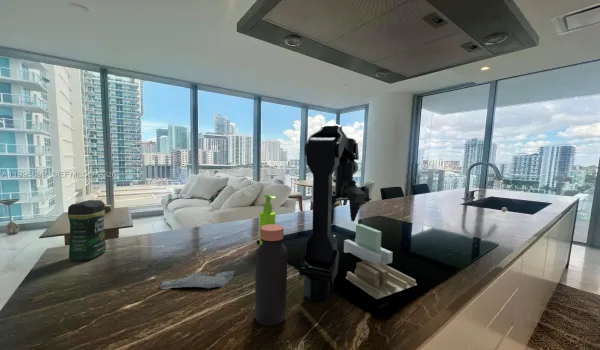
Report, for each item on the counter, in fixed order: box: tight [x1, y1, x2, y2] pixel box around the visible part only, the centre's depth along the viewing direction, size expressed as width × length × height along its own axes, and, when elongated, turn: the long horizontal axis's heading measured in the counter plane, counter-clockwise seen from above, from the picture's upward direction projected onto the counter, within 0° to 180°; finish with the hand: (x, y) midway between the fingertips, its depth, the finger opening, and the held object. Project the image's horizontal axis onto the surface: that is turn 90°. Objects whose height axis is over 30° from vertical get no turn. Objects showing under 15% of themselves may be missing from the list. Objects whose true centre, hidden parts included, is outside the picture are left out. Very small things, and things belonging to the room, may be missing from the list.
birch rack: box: [345, 263, 418, 300], centre depth 69 cm, size 16×12×2 cm
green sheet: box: [354, 223, 382, 254], centre depth 86 cm, size 2×10×10 cm, turn 29°
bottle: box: [254, 223, 288, 327], centre depth 54 cm, size 7×7×20 cm
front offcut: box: [355, 261, 380, 290], centre depth 67 cm, size 2×7×5 cm, turn 29°
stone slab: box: [157, 270, 236, 290], centre depth 69 cm, size 18×2×10 cm
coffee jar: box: [67, 199, 107, 262], centre depth 82 cm, size 10×8×19 cm
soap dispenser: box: [259, 194, 277, 246], centre depth 95 cm, size 6×7×20 cm
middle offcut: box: [361, 259, 388, 288], centre depth 68 cm, size 2×8×5 cm, turn 29°
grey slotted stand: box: [343, 237, 394, 267], centre depth 87 cm, size 7×16×4 cm, turn 29°
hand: (342, 222), depth 84 cm, fingers open, 9 cm apart
